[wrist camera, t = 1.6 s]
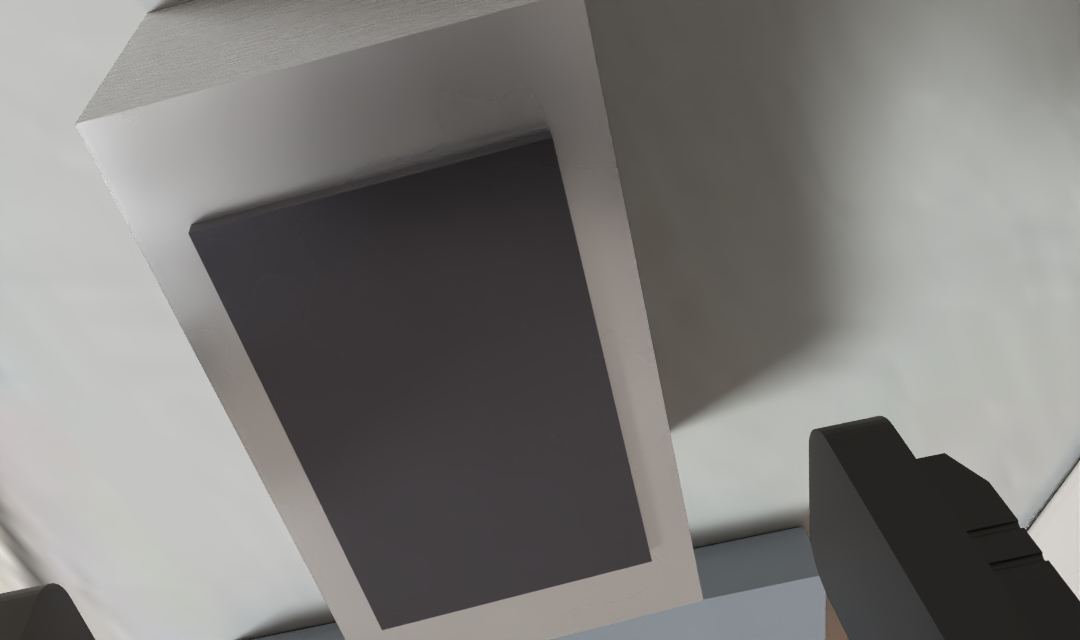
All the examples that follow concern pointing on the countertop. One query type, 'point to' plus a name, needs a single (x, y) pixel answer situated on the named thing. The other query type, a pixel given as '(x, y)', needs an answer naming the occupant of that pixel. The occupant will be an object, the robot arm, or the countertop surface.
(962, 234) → the countertop surface
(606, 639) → the grey plate with pegs
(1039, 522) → the milk carton
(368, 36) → the block
